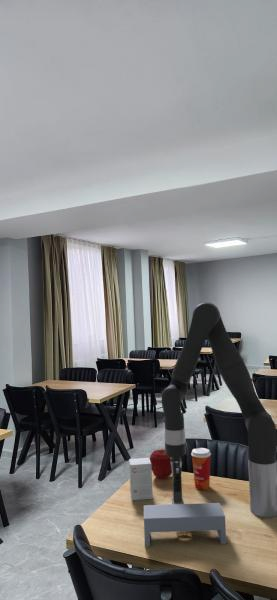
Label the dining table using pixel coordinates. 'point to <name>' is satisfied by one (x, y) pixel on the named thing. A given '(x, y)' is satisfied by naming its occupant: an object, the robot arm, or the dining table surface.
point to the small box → (140, 479)
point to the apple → (160, 464)
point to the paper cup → (201, 468)
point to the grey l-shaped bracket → (177, 494)
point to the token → (184, 536)
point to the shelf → (184, 519)
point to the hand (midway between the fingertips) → (176, 489)
